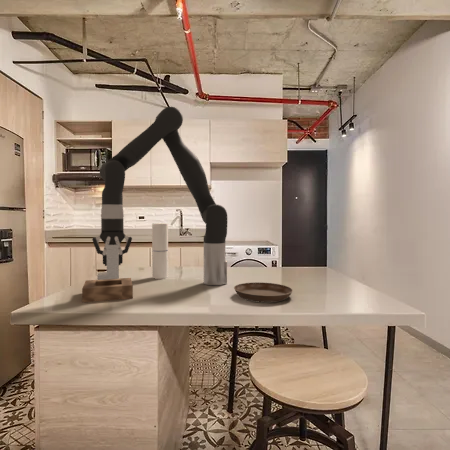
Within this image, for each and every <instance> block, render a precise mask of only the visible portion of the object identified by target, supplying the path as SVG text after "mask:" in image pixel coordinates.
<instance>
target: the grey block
mask: <svg viewBox="0 0 450 450" xmlns="http://www.w3.org/2000/svg"><path fill="white" fill-rule="evenodd" d="M106 255H107V266H106V271H105V272H98V273H97V278H96V280H104V279H120V275H119V274H120V272H119V271H120V269H119V268H120V267H119V266H120V265H119V244H117V245H116V244H110V245H107V253H106Z"/></svg>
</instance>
